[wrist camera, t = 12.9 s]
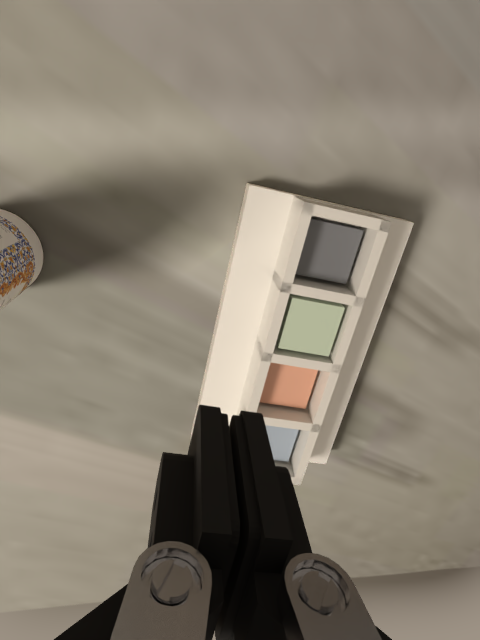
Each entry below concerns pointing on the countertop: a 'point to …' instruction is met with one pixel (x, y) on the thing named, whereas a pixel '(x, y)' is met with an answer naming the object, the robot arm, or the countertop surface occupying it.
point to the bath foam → (17, 256)
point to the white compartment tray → (269, 307)
